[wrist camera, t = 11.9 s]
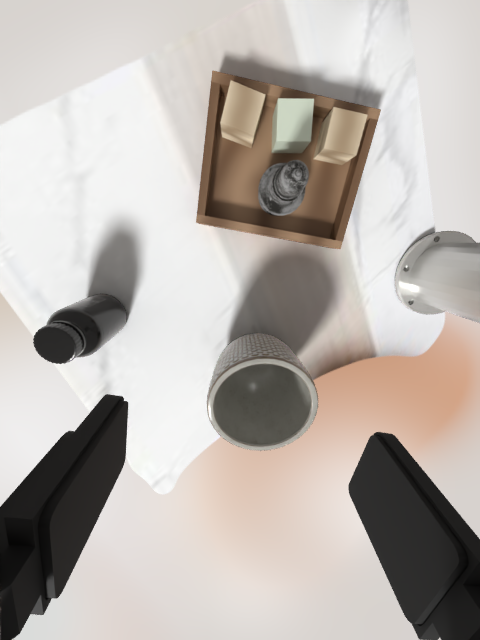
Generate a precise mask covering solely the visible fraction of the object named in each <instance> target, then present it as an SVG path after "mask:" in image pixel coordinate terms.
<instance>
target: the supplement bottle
mask: <svg viewBox="0 0 480 640" xmlns="http://www.w3.org/2000/svg"><path fill="white" fill-rule="evenodd" d="M126 320H127V315H126V311H125V308H124V306H123V305H122V304H121V303H120V302H119V301H118V300H117V299H116V298H114V297H112V296H110V295H106V294H97V295H93V296H91V297H88V298H86V299H83V300H81V301H79V302H76V303H74V304H72V305H69V306H67V307H65V308H62V309H60V310H58V311H56V312H55V313H54V314H53V315H51V317H50V318H49V320H48V322H47V325H46V326H44V327H42V328H41V329H39V330H38V332H36V334H35V335H34V339H33V340H34V342H33V343H34V347H35V348H36V351H37V352H38V354H39V355H40V356H41V357H43V358H44V359H45V360H48V361H49V362H52V363H56V364H58V363H59V364H62V363H66V362H70V361H71V360H73V359H74V358H76V357H85V356H89V355H91V354H93V353H94V352H96V351H97V350H98V349H100V348H101V347H102V346H103V345H104V344H105V343H107V342H108V341H109V340H110V339H111V338H113V337H114V336H115V335H116V334H117V333H118V332H119V331H121V330H122V329H123V327H124V326H125V324H126Z"/></svg>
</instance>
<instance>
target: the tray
mask: <svg viewBox="0 0 480 640" xmlns="http://www.w3.org/2000/svg"><path fill="white" fill-rule="evenodd" d="M231 80H232V81H234V82H236V83H239V84H241V85H244V86H246V87H248V88H251V89H253V90H256V91H258V92H260V93H263V94H265V100H264V105H263V109H262V114H261V117H260V121H259V124H258V128H257V131H256V135H255V138H254V142H253V145H252V148H249V147H247V146H244V145H242V144H239V143H236V142H234V141H231V140H229V139H226V138H224V137H222V132H221V124H220V122H221V118H222V114H223V110H224V106H225V102H226V98H227V93H228V89H229V85H230V81H231ZM278 98H286V99H314V107H313V120H312V133H311V142H310V143H309V145H308V146H307V147H306V148H305V150H304V151H303V152H302V153H271V152H272V121H273V113H274V110H275V107H276V104H277V100H278ZM333 107H336V108H341V109H345V110H349V111H354V112H358V113H362V114H367V119H366V123H365V126H364V130H363V133H362V137H361V141H360V144H359V148H358V151H357V155H356V156H355V157H353V158H352V159H350V160H349V161H347V162H346V163H345V164H343V165H339V164H334V163H329V162H325V161H320V160H315V159H313V158H314V154H315V150H316V145H317V141H318V137H319V132H320V128H321V124H322V122H323V121H324V119H325V118H326V117H327V115H328V114H329V113H330V111H331V110H332V109H333ZM380 111H381V110H380V109H375V108H371V107H367V106H362V105H358V104H354V103H349V102H345V101H341V100H337V99H332V98H328V97H324V96H319V95H315V94H311V93H306V92H302V91H298V90H294V89H289V88H285V87H281V86H276V85H272V84H268V83H264V82H259V81H255V80H251V79H246V78H242V77H238V76H233V75H229V74H225V73H221V72H216V71H212V80H211V89H210V98H209V108H208V117H207V126H206V135H205V145H204V154H203V163H202V172H201V182H200V191H199V200H198V210H197V219H196V222H197V223H199V224H204V225H209V226H214V227H220V228H225V229H231V230H236V231H241V232H247V233H252V234H258V235H263V236H268V237H274V238H279V239H285V240H290V241H295V242H301V243H306V244H312V245H317V246H322V247H328V248H334V249H340V248H341V245H342V242H343V238H344V235H345V231H346V228H347V224H348V221H349V218H350V214H351V211H352V207H353V204H354V200H355V197H356V194H357V190H358V187H359V183H360V180H361V176H362V173H363V170H364V166H365V163H366V159H367V156H368V152H369V149H370V145H371V142H372V139H373V135H374V132H375V128H376V125H377V121H378V118H379V115H380ZM292 160H300V161H302V162H304V163H305V165H306V166H307V168H308V171H309V179H308V183H307V185H306V187H305V195H304V199H303V201H302V203H301V204H300V206H299V207H298V208H297V209H296V210H295V211H293V212H292V213H290V214H287V215H284V216H274V215H270V214H268V213H266V212H265V211H264V210H263V209H262V207H261V205H260V204H259V200H258V187H259V183H260V179H261V177H262V175H263V174H264V173H265V171H266V170H267V169H268V168H270V167H271V166H272V165H275V164H278V163H288V162H289V161H292Z"/></svg>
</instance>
